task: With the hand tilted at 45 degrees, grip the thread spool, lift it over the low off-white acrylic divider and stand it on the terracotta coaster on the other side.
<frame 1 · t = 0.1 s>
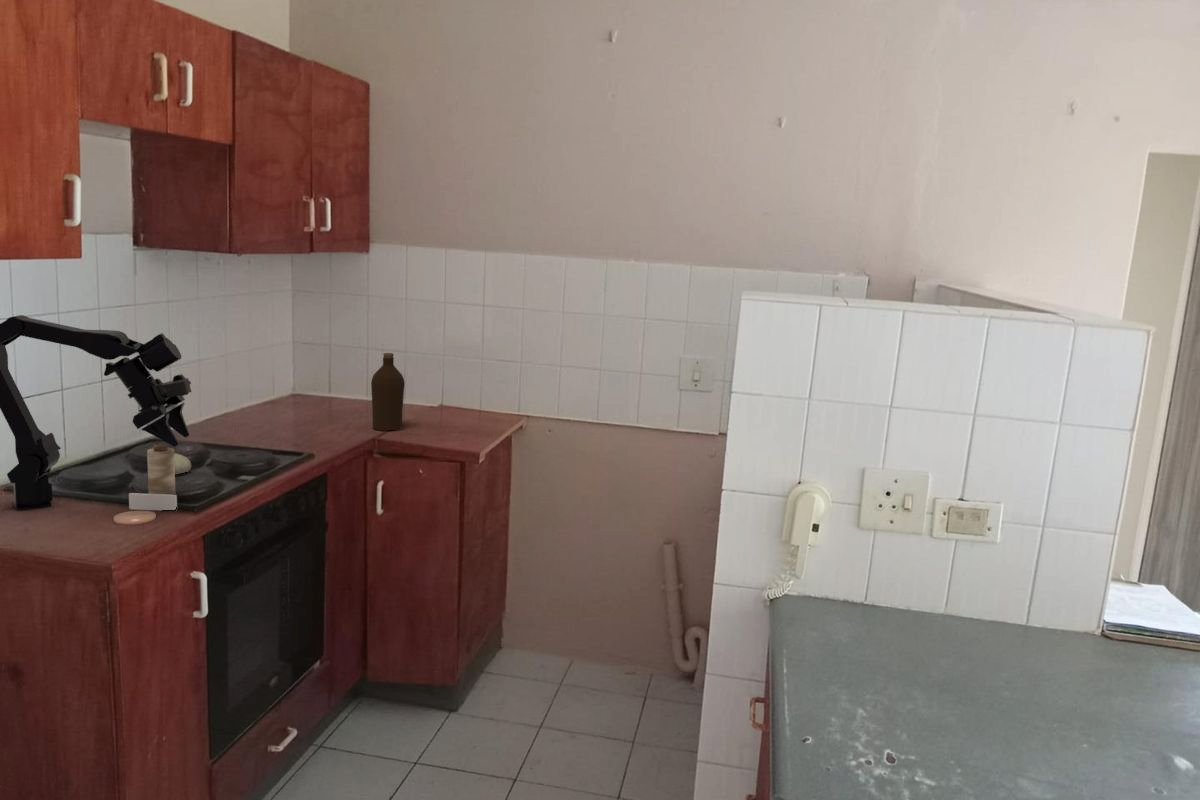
hand: (182, 440, 197), 15 cm above the countertop, tool tilted 35°, fingers open, 9 cm apart
coaster: (134, 518, 188), on the countertop
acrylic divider: (153, 509, 195), on the countertop
olive oil: (387, 429, 290), on the countertop
thread spool: (162, 500, 202), on the countertop
sea urchin shell: (170, 474, 225), on the countertop
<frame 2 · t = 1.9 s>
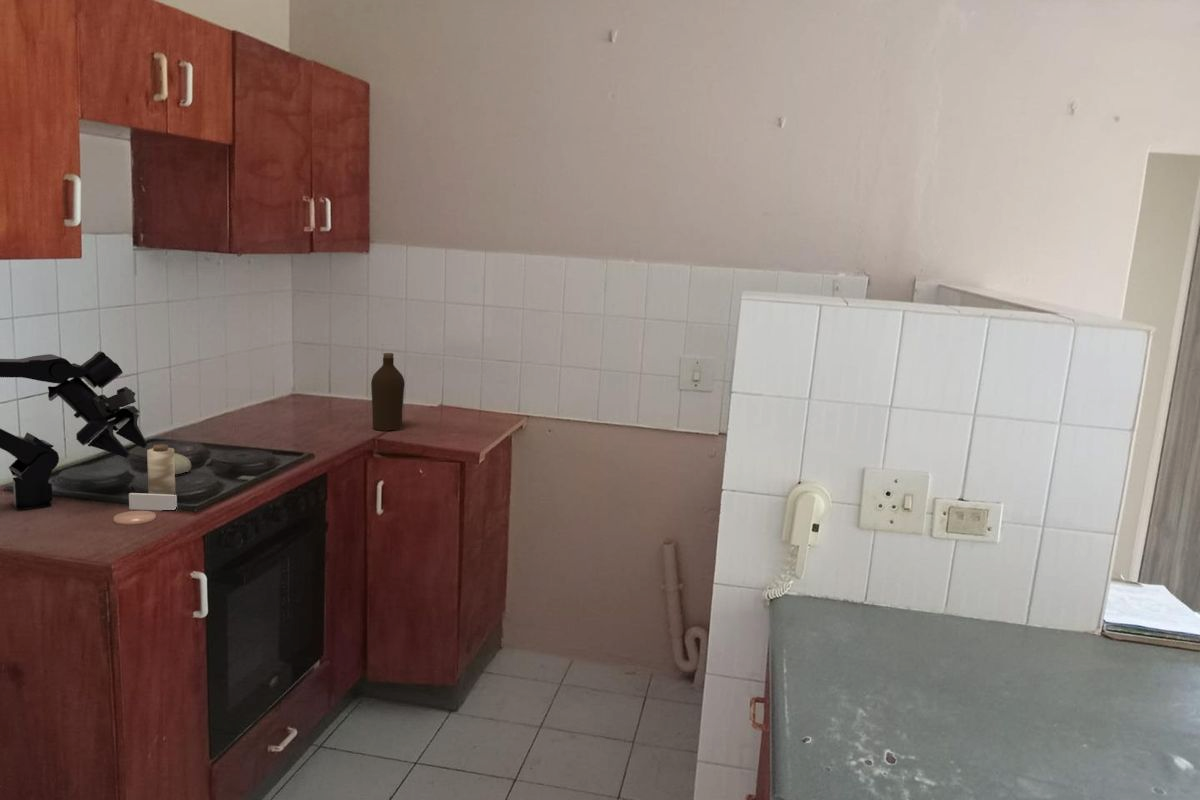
hand: (137, 451, 200), 11 cm above the countertop, tool tilted 45°, fingers open, 9 cm apart
nothing on the countertop moved.
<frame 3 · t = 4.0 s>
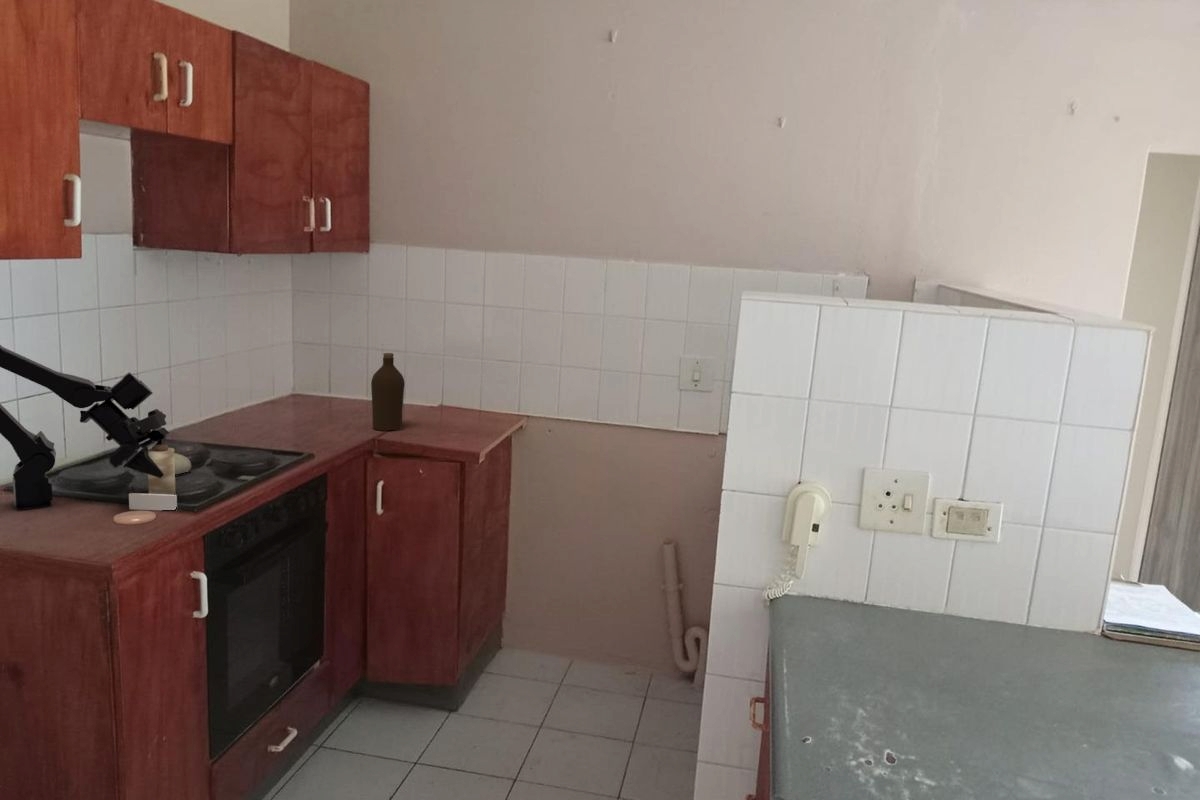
hand: (167, 473, 201), 7 cm above the countertop, tool tilted 45°, fingers closed on thread spool, 5 cm apart
thread spool: (162, 500, 202), on the countertop, touching gripper
everything else where it was.
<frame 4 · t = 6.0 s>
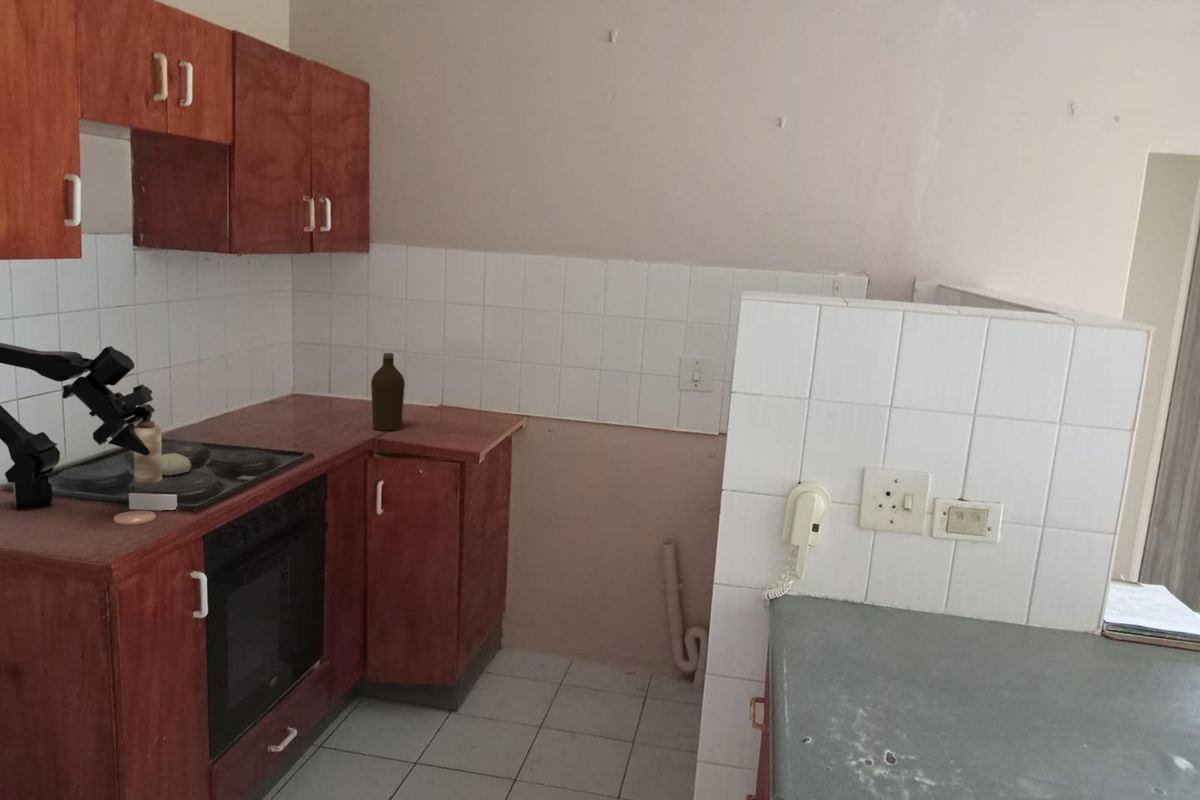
hand: (154, 451, 193), 13 cm above the countertop, tool tilted 45°, fingers closed on thread spool, 5 cm apart
thread spool: (148, 479, 194), point 7 cm above the countertop, touching gripper
everything else where it was.
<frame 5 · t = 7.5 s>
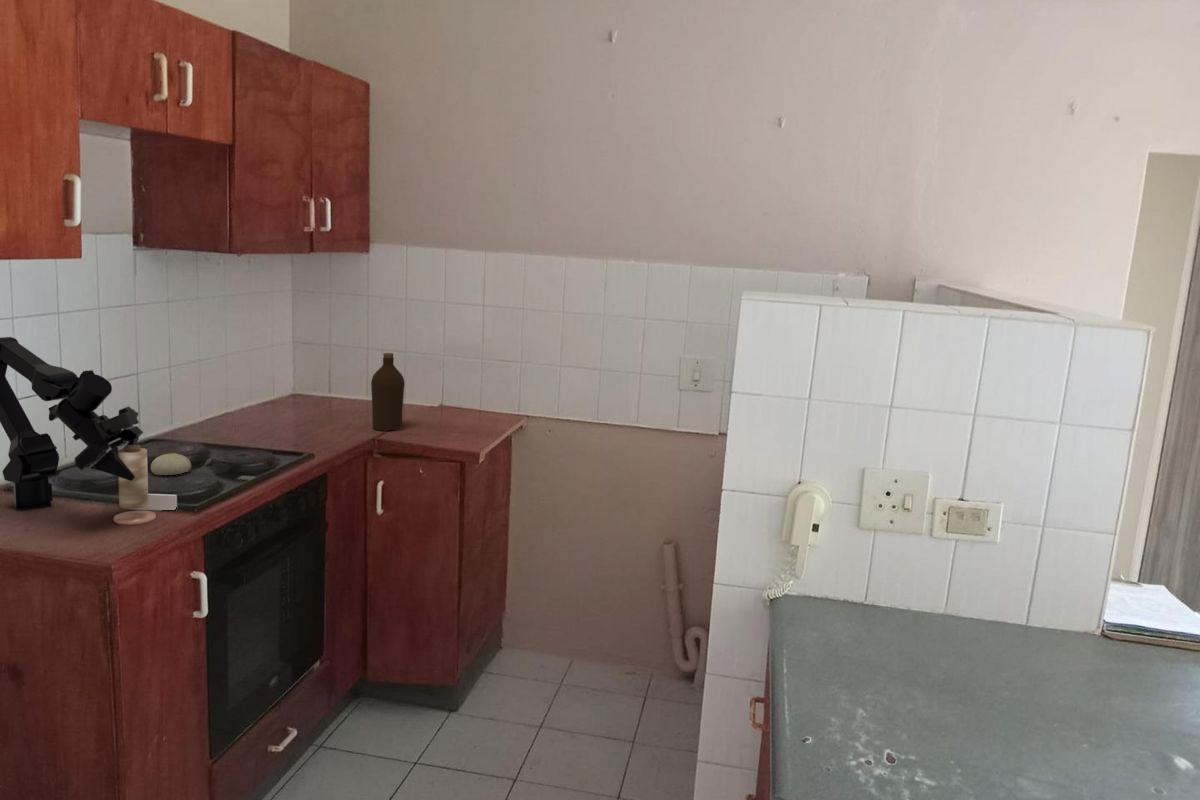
hand: (139, 475, 187), 10 cm above the countertop, tool tilted 45°, fingers closed on thread spool, 5 cm apart
thread spool: (134, 505, 188), point 3 cm above the countertop, touching gripper
everything else where it was.
when the fingers open (8 cm above the countertop, at t = 8.3 s): thread spool stays where it is, resting on coaster.
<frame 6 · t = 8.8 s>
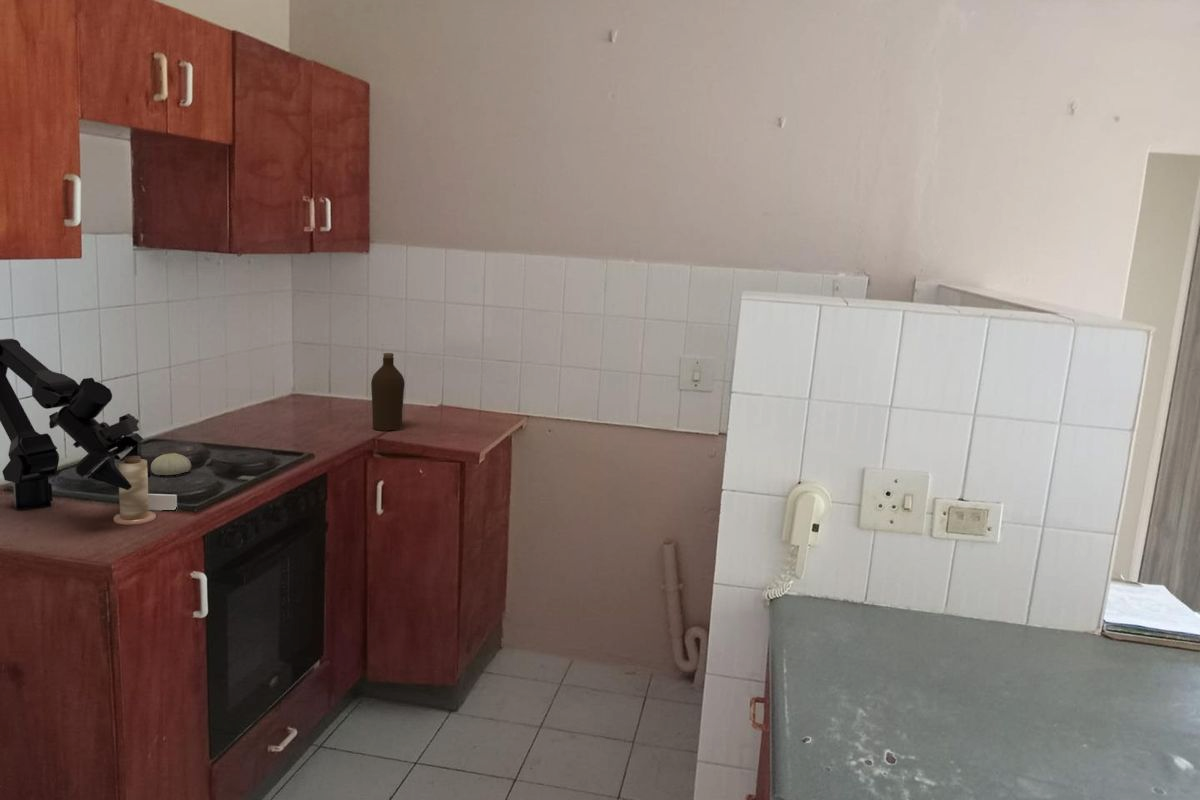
hand: (140, 482, 187), 8 cm above the countertop, tool tilted 45°, fingers open, 9 cm apart
thread spool: (134, 516, 188), point 1 cm above the countertop, touching coaster
everything else where it was.
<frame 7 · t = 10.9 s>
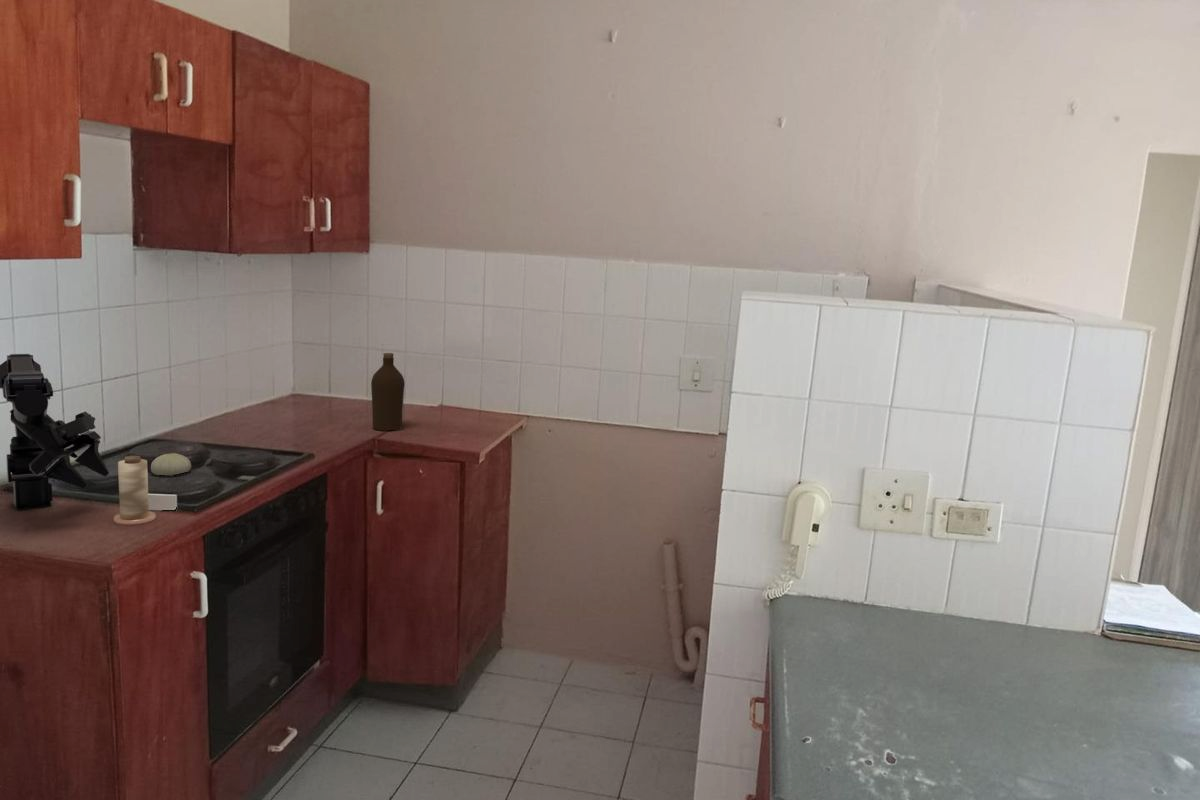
hand: (96, 480, 187), 8 cm above the countertop, tool tilted 45°, fingers open, 9 cm apart
nothing on the countertop moved.
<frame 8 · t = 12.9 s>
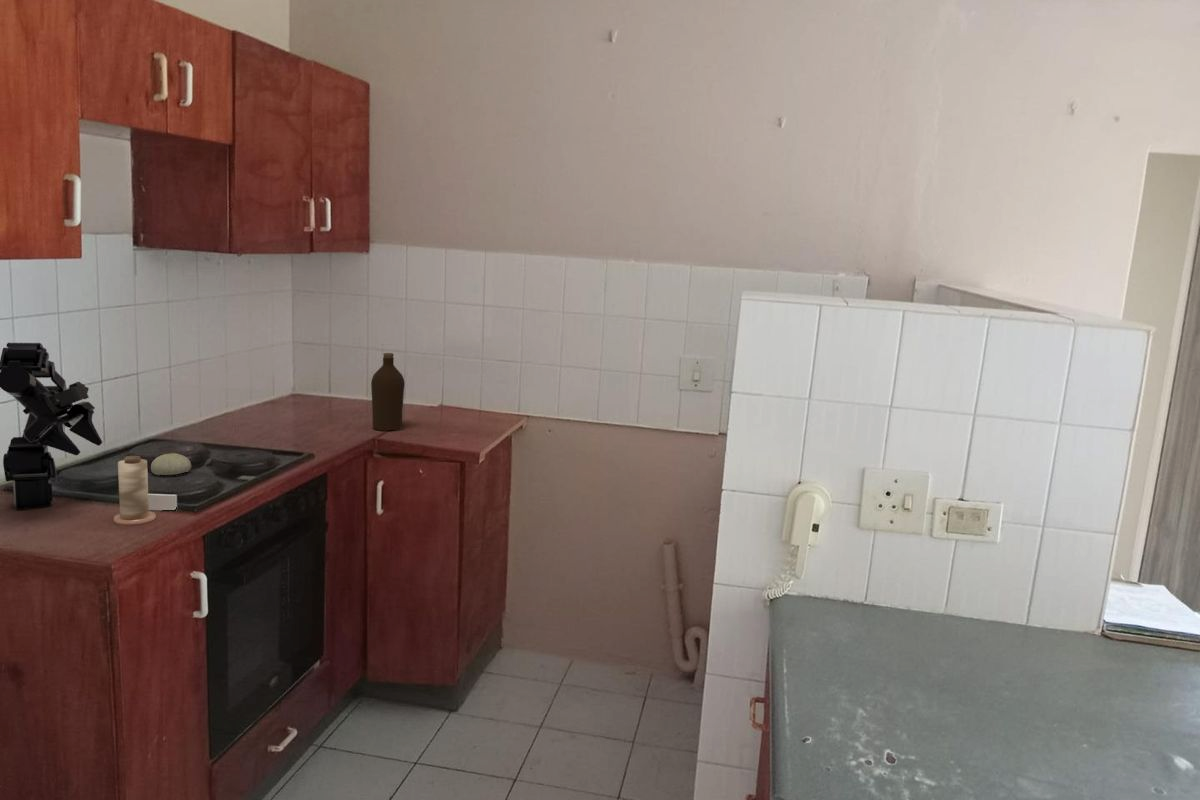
hand: (89, 448, 191), 14 cm above the countertop, tool tilted 45°, fingers open, 9 cm apart
nothing on the countertop moved.
at the end: thread spool 0.1 cm from the coaster (horizontally); thread spool tilted 0°; the gripper is holding nothing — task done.
